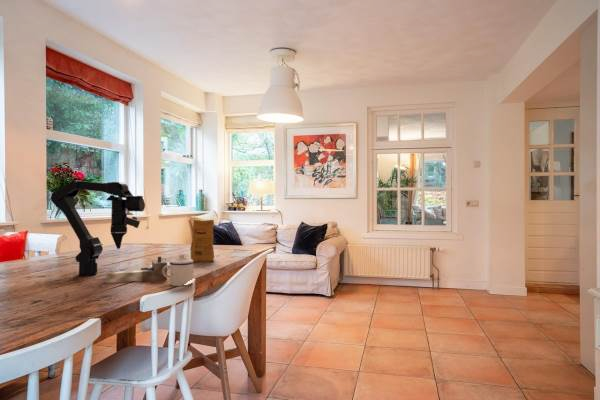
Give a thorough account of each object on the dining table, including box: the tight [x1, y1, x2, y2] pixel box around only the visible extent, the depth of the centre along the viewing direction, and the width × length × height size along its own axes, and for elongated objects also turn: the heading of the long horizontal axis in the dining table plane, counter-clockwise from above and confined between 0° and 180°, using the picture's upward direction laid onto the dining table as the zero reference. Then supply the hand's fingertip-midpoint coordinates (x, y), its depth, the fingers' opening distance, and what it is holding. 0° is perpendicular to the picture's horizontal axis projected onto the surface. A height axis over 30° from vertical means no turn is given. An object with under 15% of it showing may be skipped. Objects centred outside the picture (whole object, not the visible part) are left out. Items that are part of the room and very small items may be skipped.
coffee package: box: [190, 219, 215, 263], centre depth 208 cm, size 10×12×22 cm
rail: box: [105, 265, 151, 284], centre depth 158 cm, size 17×4×5 cm, turn 116°
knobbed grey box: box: [140, 255, 168, 282], centre depth 162 cm, size 9×9×9 cm
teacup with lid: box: [163, 253, 195, 287], centre depth 153 cm, size 12×9×12 cm
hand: (118, 247), depth 168 cm, fingers open, 9 cm apart
